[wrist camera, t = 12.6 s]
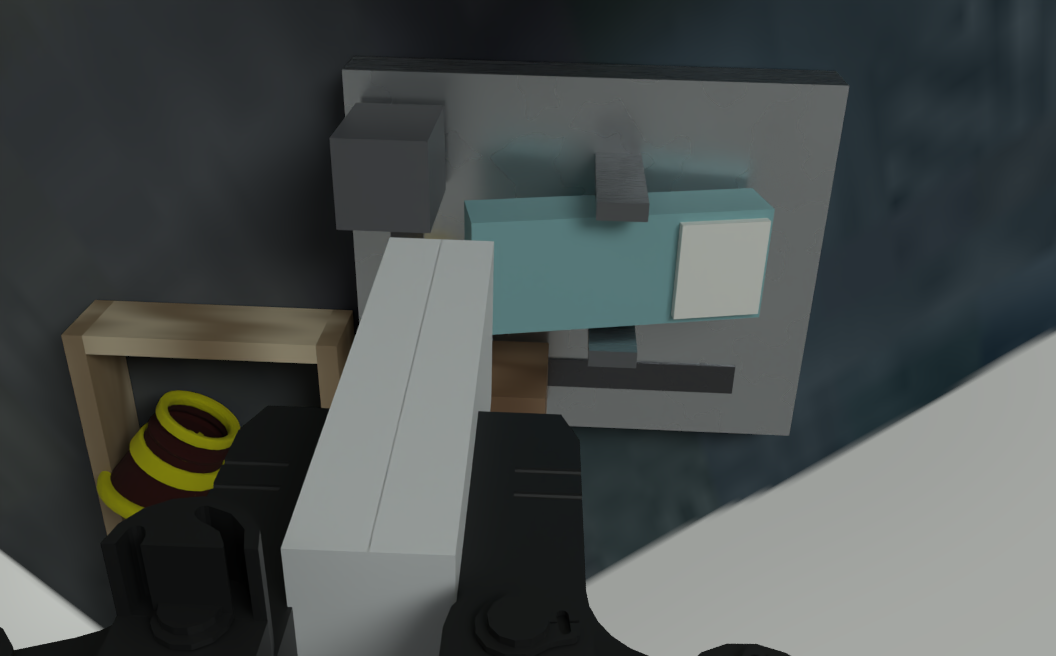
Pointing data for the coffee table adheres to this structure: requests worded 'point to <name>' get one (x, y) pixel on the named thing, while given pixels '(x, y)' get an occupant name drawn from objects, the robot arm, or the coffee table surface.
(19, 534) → the coffee table surface
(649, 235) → the block
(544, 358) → the brown rectangular block
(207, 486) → the opera glasses
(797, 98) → the panel
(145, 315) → the wooden tray
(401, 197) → the dark grey block
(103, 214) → the coffee table surface
